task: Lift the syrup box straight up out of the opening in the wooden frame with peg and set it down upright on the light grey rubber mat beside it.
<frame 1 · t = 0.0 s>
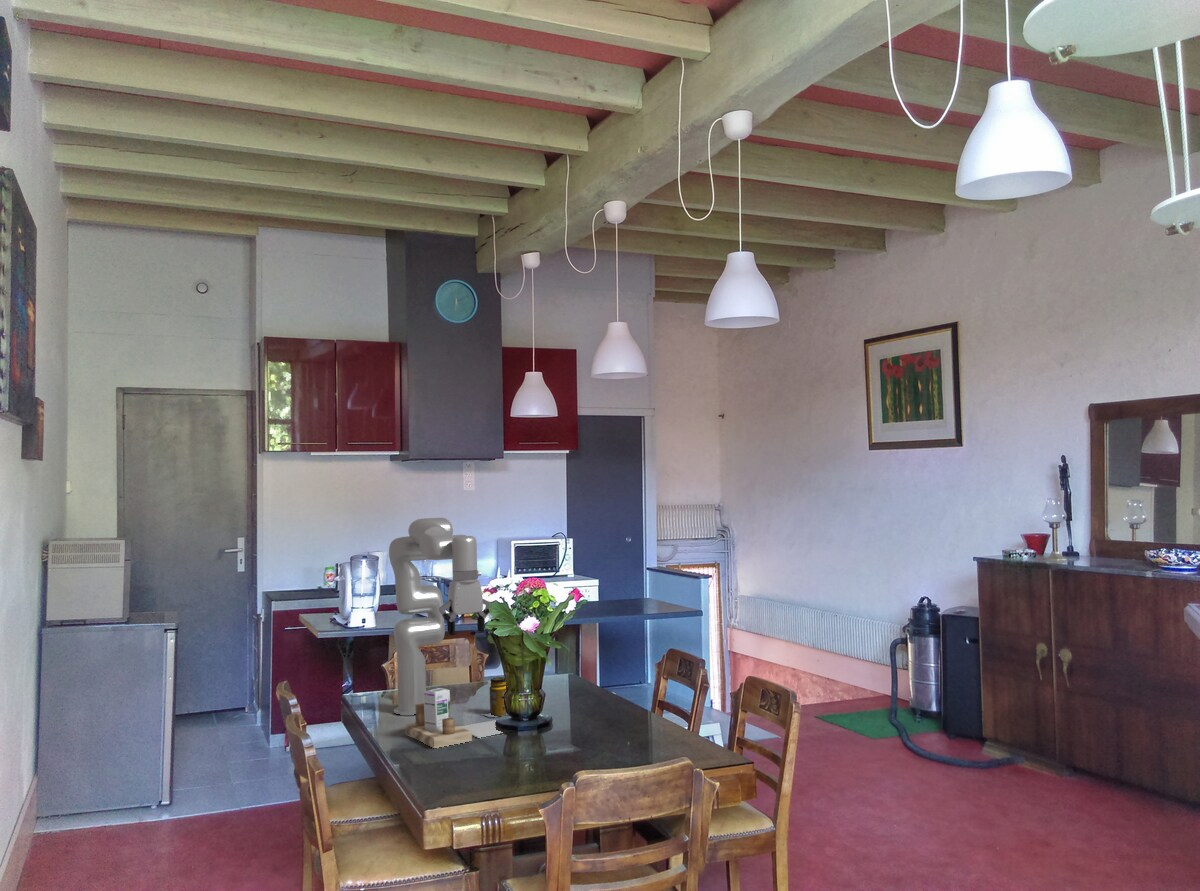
hand: (466, 632, 286), 31 cm above the table, tool pointing down, fingers open, 9 cm apart
wooden frame with peg: (438, 738, 284), on the table
grey mat: (490, 729, 292), on the table
syrup box: (438, 738, 284), resting in wooden frame with peg
condiment: (496, 715, 313), on the table
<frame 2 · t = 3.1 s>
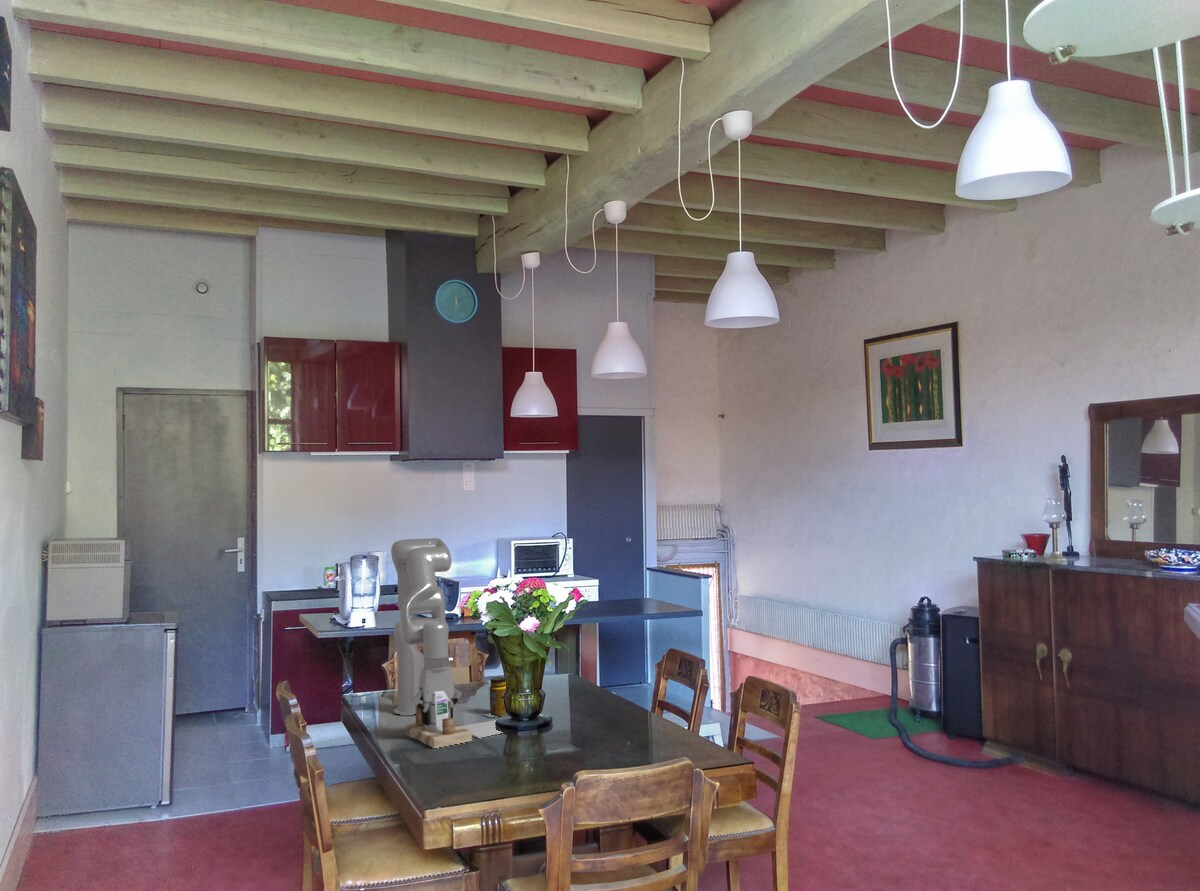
hand: (437, 722, 284), 5 cm above the table, tool pointing down, fingers closed on syrup box, 6 cm apart
syrup box: (438, 738, 284), resting in wooden frame with peg, touching gripper
everything else where it was.
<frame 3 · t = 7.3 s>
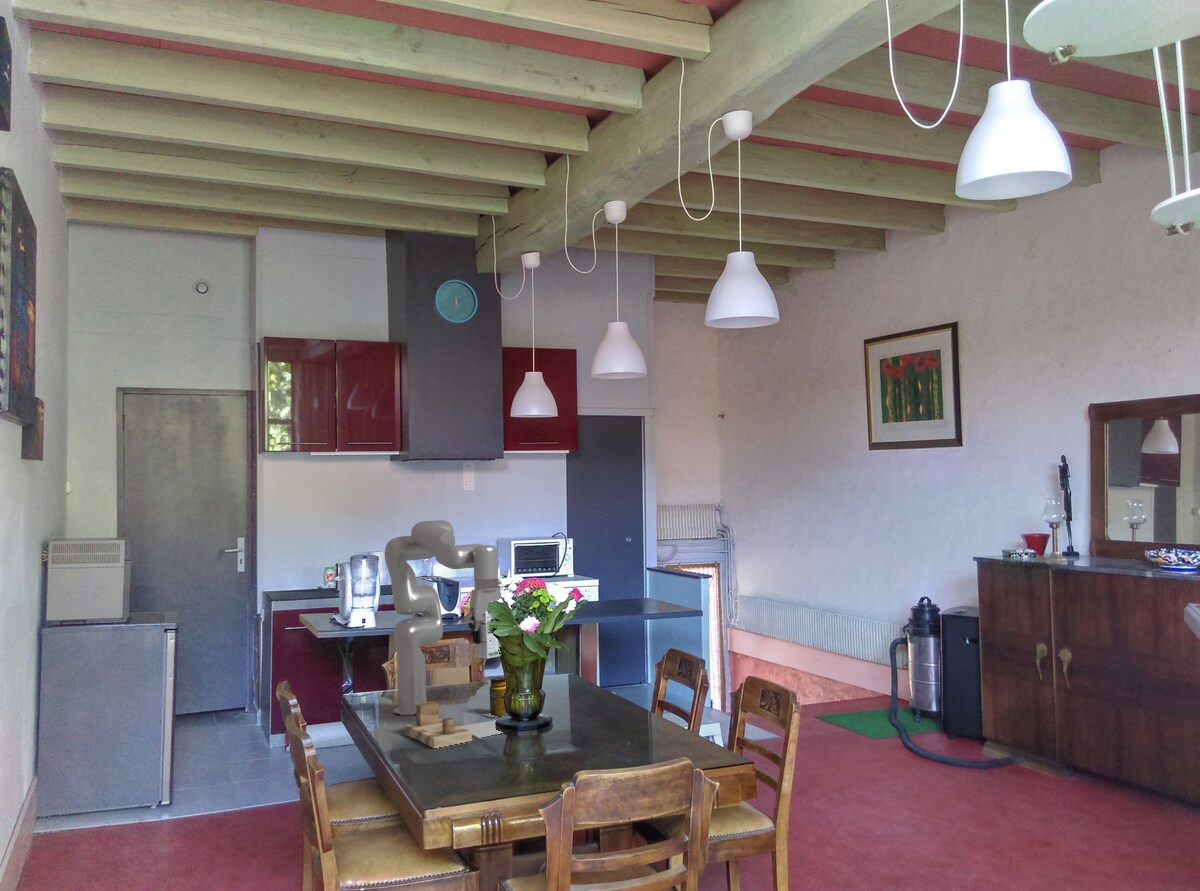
hand: (487, 641, 294), 27 cm above the table, tool pointing down, fingers closed on syrup box, 6 cm apart
syrup box: (488, 657, 294), point 22 cm above the table, touching gripper
everything else where it was.
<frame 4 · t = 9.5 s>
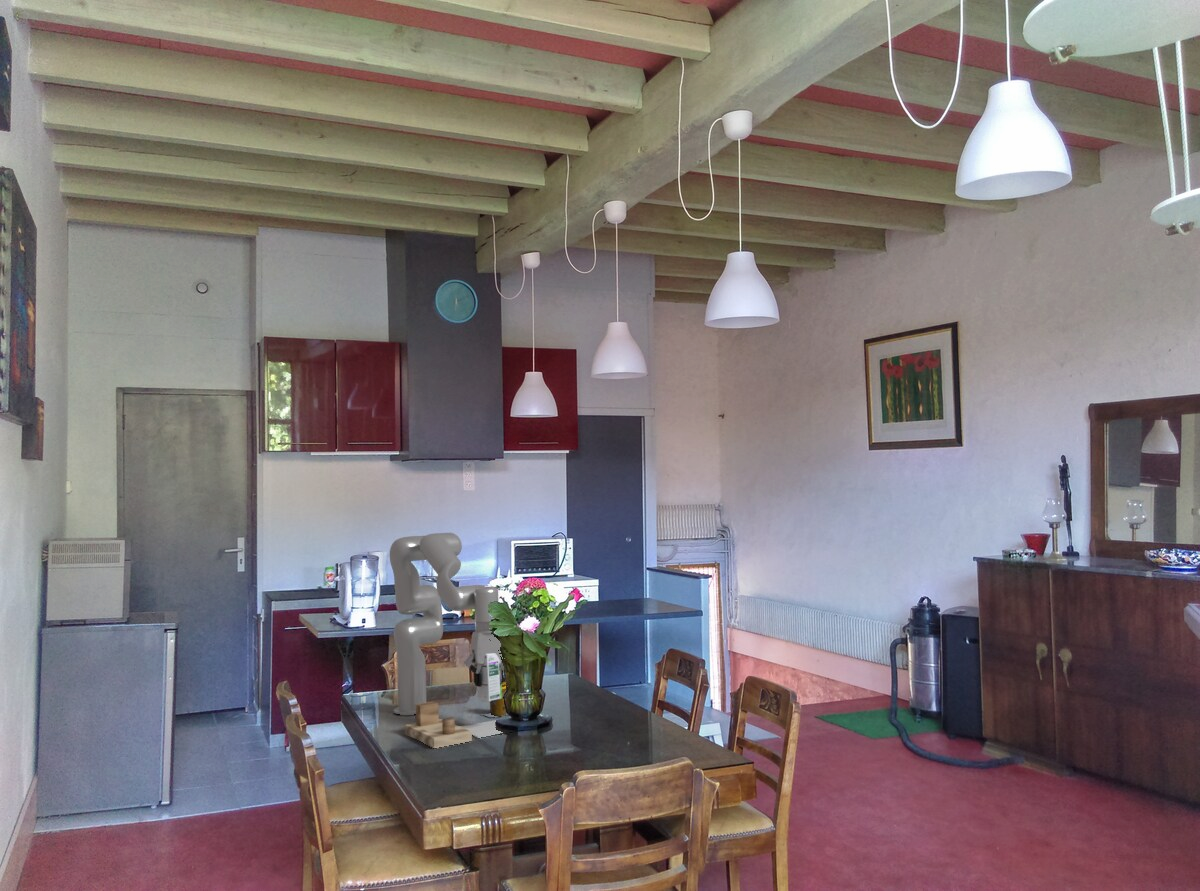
hand: (489, 683, 293), 14 cm above the table, tool pointing down, fingers closed on syrup box, 6 cm apart
syrup box: (489, 699, 293), point 9 cm above the table, touching gripper
everything else where it was.
when the fingers open (7 cm above the table, at t = 11.5 s): syrup box drops 1 cm, resting on grey mat.
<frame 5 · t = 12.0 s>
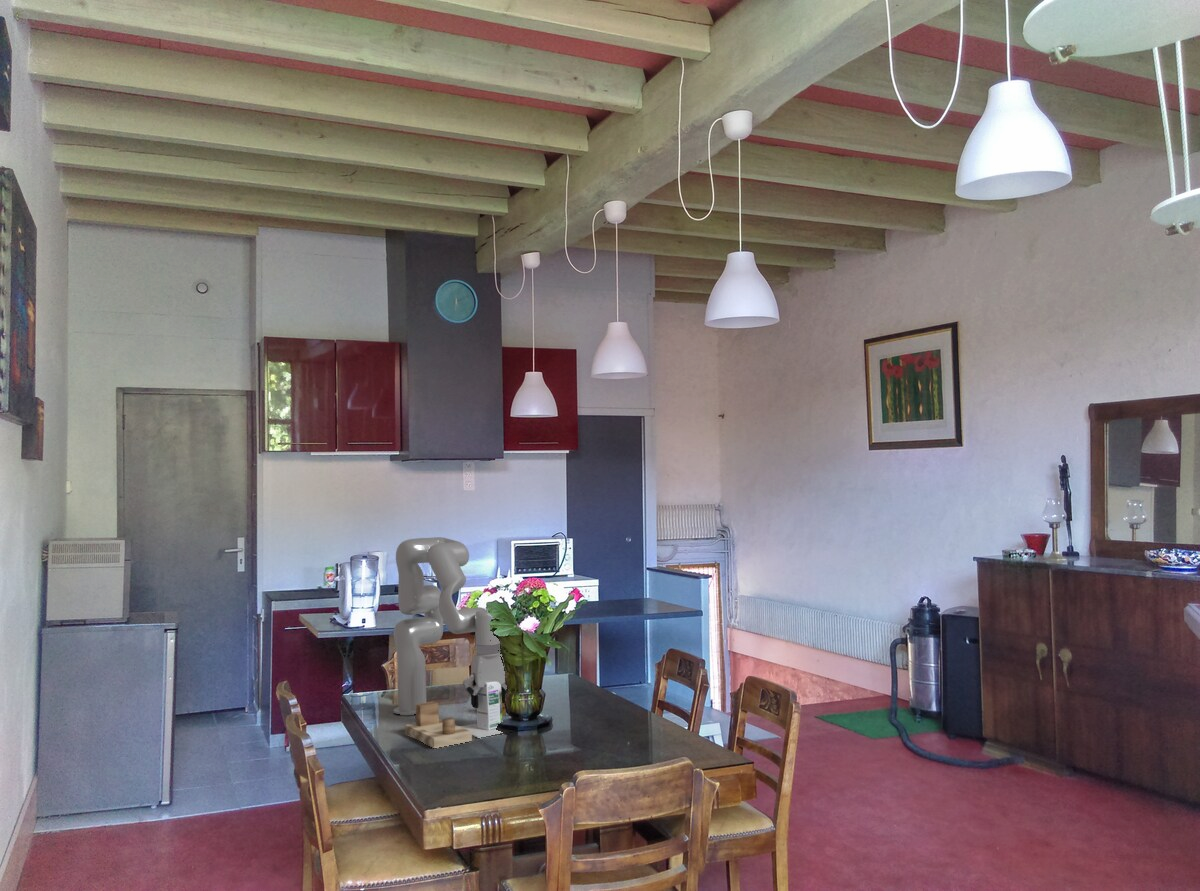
hand: (489, 705, 293), 7 cm above the table, tool pointing down, fingers open, 9 cm apart
syrup box: (489, 728, 293), resting on grey mat
everything else where it was.
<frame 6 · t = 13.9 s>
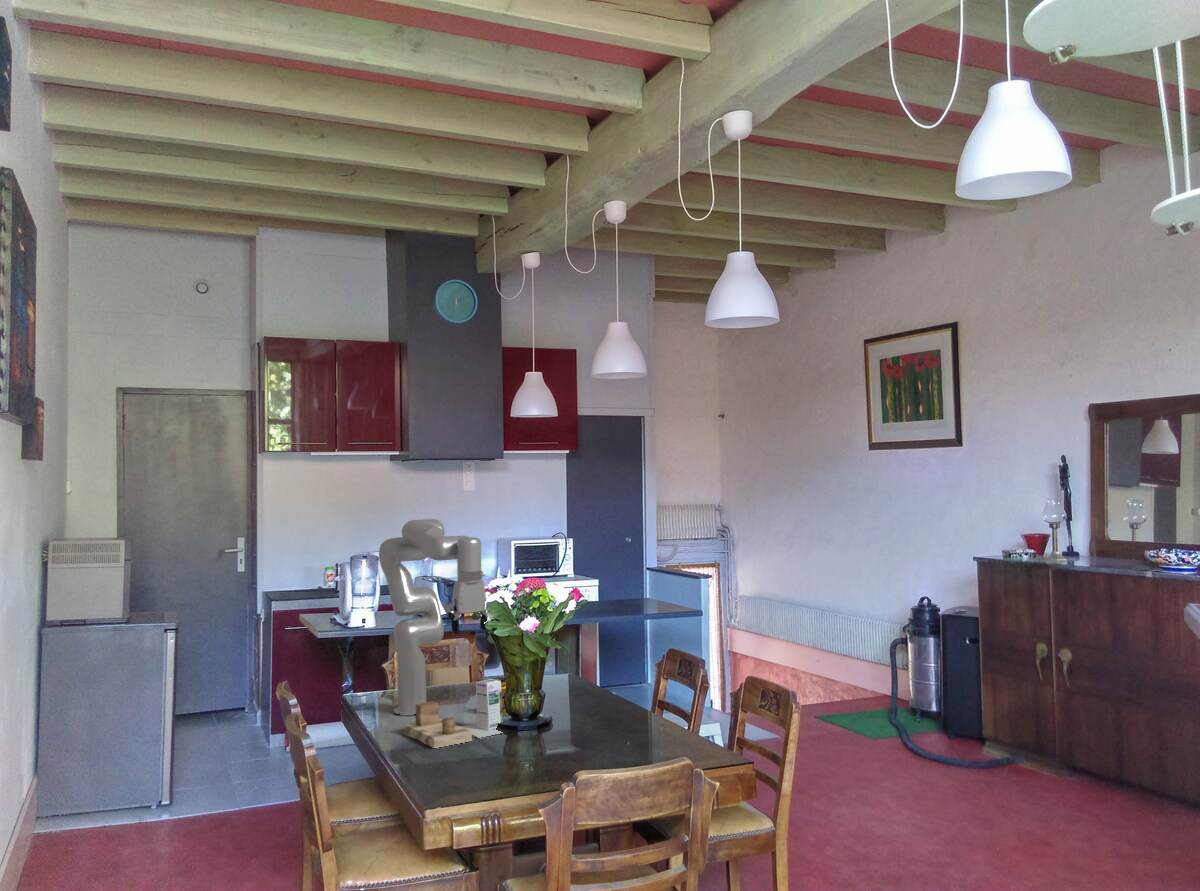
hand: (469, 631, 296), 30 cm above the table, tool pointing down, fingers open, 9 cm apart
nothing on the table moved.
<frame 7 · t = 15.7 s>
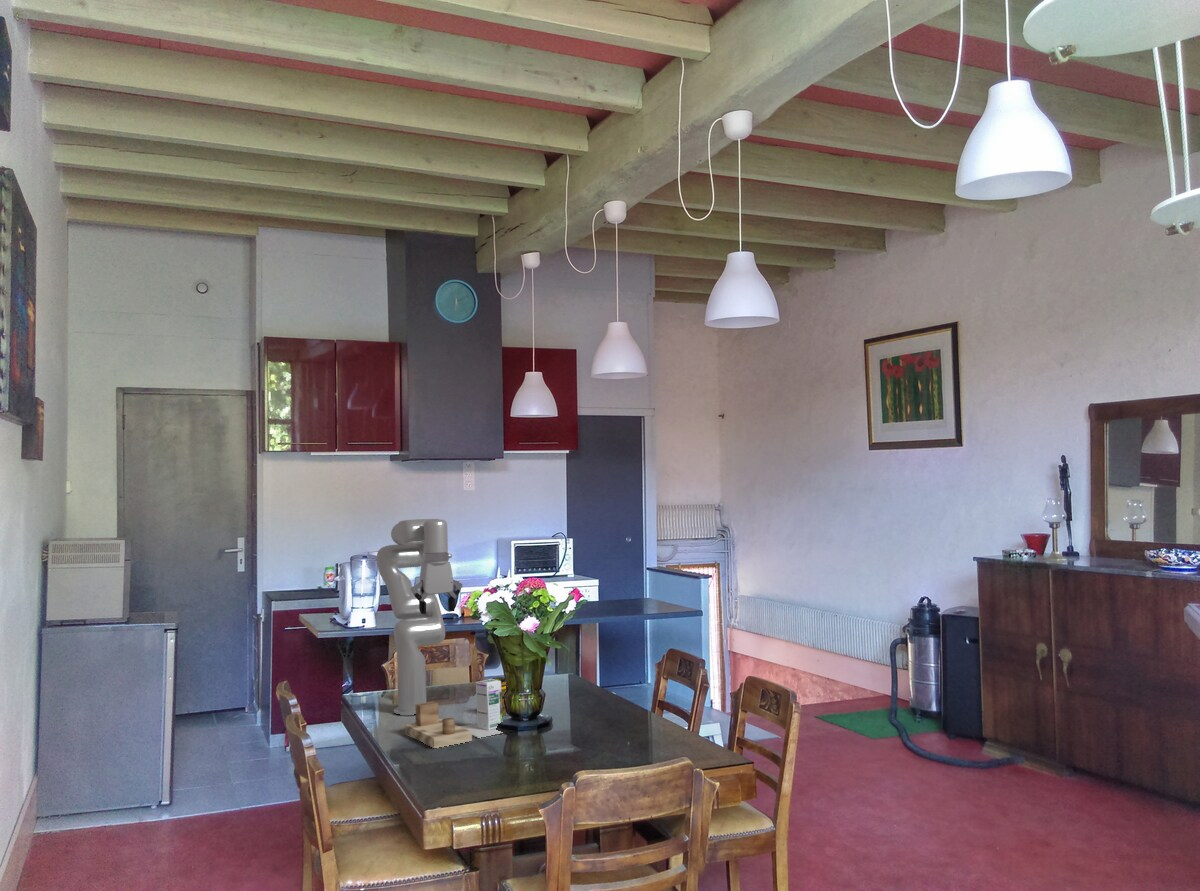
hand: (437, 612, 299), 36 cm above the table, tool pointing down, fingers open, 9 cm apart
nothing on the table moved.
at the end: syrup box inside the target area on the grey mat (0.1 cm from its centre), point 0.4 cm above the grey mat's base; syrup box tilted 0°; the gripper is holding nothing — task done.
